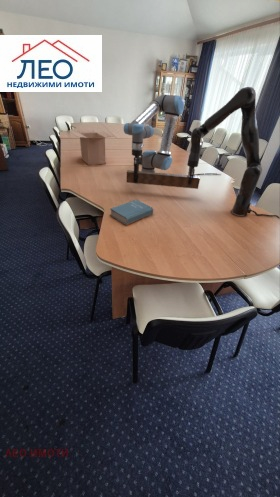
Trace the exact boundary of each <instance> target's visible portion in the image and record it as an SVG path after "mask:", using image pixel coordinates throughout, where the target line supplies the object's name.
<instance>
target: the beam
mask: <svg viewBox="0 0 280 497" xmlns="http://www.w3.org/2000/svg"><path fill="white" fill-rule="evenodd" d="M133 173H134V170H129V169H127V171H126V183H129V184H135V183H134V174H133ZM137 174H138V178H137V183H136V184H139V185H151V186H152V185H153V186H161V187H174V188H183V189H195V190H198V189H199V185H200V181H201V176H200V175H194V176H193V179H192V182H191V184H188V181H189V176H188V175H186V174H178V173H177V174H175V173H163V172H155V173H154V172H142V171H141V170H139V171H138V172H137Z"/></svg>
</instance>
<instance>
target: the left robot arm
mask: <svg viewBox="0 0 280 497" xmlns="http://www.w3.org/2000/svg"><path fill="white" fill-rule="evenodd" d="M184 109H185V101H184V98H183V97H182V96H180V95H175V94H174V95H173V94H161V95H159V96H157V97H155V98H154V99H153V100H151V102H150V103H149V105H148V106H147V107H146V108H145V109H143V111H142V112H141V113H140V114H138V115H137V116H136V117H135V119H133V120H132V121H131V122H126V123H125V124H124V125H123V132H124V134H125V135H128V136H131V155H132V157H133V171H134V173H133V174H134V183H133V184H138V183H137V178H138V174H137V172H138V171H142V172H154V173H156V169H157V170H161V171H167V170H169V169H170V168H171V165H172V164H173V157H172V156H171V155H172V154H171V147H172V143H173V138H174V133H175V130H176V129H175V128H176V124H177V120H178V119H179V118H180V115H182V114H183V112H184ZM159 113H164V117H165V120H164V124H163V125H164V126H163V131H162V134H161V141H160V145H159V150H153V149H151V150H145V151H143V147H144V144H143V143H144V140H145V139H148V138H152V137H153V136H154V133H155V132H154V131H155V130H154V128H153V126H152V125H146V124H148V123H149V121H150V120H151V119H152V118H153V117H154V116H155V115H158V114H159ZM142 155H143V156H142ZM141 156H142V157H143V158H142V164H141V169H140V164H139V160H140V158H139V157H141ZM200 175H201V176H202V175H203V173H196V174H195V173H194V176H200ZM206 175H216V173H207V172H206Z"/></svg>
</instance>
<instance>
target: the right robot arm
mask: <svg viewBox="0 0 280 497" xmlns="http://www.w3.org/2000/svg"><path fill="white" fill-rule="evenodd" d="M256 100H257V93H256V90H255V88H254V87H252V86H243V87H241V88H239V90H238V91H237V92H236V93H235V94H234V95H233V96H232V97H231V98H230V100H228V101H227V102H226V103H225V104H224V105H223V106H222V107H221V108H219V109H218V110H217V111H216V112H214V113H213V114H211V115H210V116H209V117H208V118H207V119H206V120H205V121H204V122H203V123H202V124H201V125H199V126H197V127H195V128H194V129H192V131H191V135H190V149H189V154H188V157H187V158H188V159H187V164H186V166H187V167H188V172H187V174H188V176H189V181H188V184H191V182H192V179H193V176H195V175H194V174H195V171H196V169H195V168H197V167H199V163H200V157H201V152H202V143H201V140H202V139H203V138H204V137H206V136H207V135H208V134H209V133H210V132H211V131H213V130H214V129H215V128H217V127H218V126H220V125H221V124H222V123H223V122H224V121H225V120H226V119H227V118H228V117H230V116H231V115H232V114H233V113H234V112H236V111H238V110H240V112H241V126H240V140H241V146H242V149H243V152H244V156H245V159H246V169H245V170H244V172H243V176H242V178H241V182H240V185H239V188H238V191H237V194H236V197H235V201H234V203H233V206H232V209H231V214H233V215H234V216H237V217H246V216H247V214H251V213H254V214H255V215H256V216H258V217H259V216H264V217H275V218H277V219H280V216H279V215H277V214H265V213H257V211H255V210H254V209H253V210H252V208H251V201H252V198H253V196H254V193H255V190H256V187H257V186H258V182H259V179H260V177H261V175H262V173H263V168H262V164H261V159H260V158H261V157H260V136H259V127H258V119H257V113H256V112H257V110H256V107H257V106H256V104H257V103H256V102H257V101H256Z"/></svg>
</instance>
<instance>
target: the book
mask: <svg viewBox="0 0 280 497" xmlns="http://www.w3.org/2000/svg"><path fill="white" fill-rule="evenodd" d="M109 210H110V215H109V216H110V217H112V218H113V219H115V220H117V221H119V222H120V223H122V224H124V225H125V226H127V225H130V224H132V223H134V222H138V221H140V220H142V219H144V218H146V217H148V216H151V215H153V214H154V208H153V207H152V206H150V205H148V204H146V203H144V202H142V201H140V200H138V199H134V200H130V201H128V202H125V203H122V204H119V205H117V206H113V207H111V208H109Z"/></svg>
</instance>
